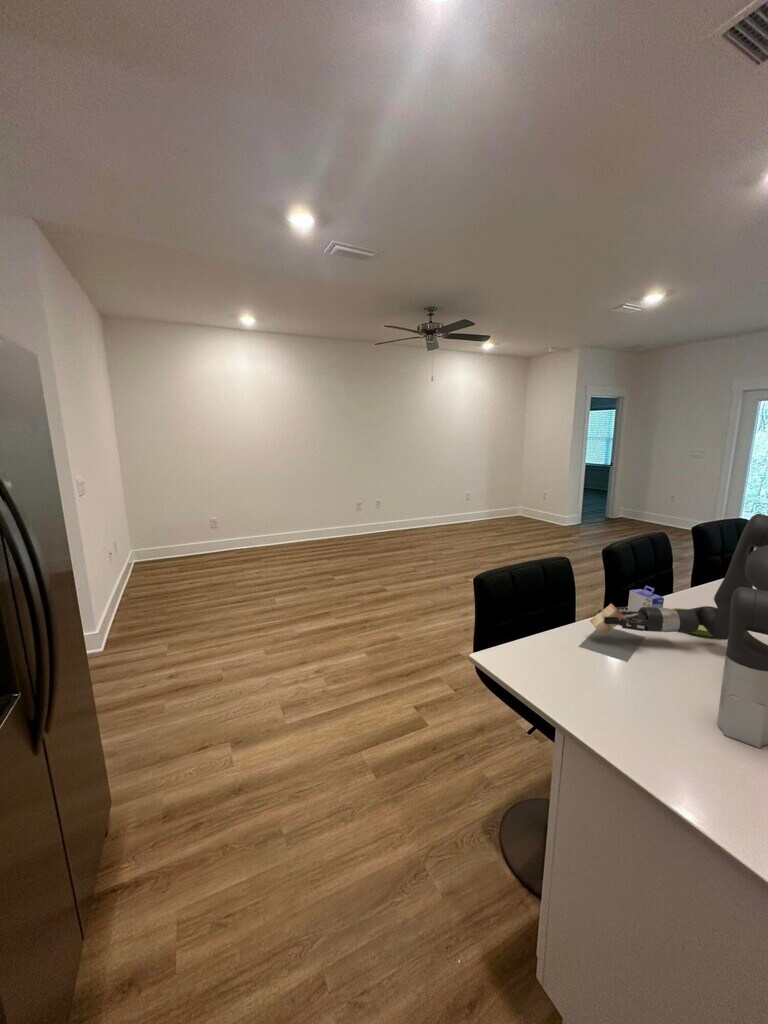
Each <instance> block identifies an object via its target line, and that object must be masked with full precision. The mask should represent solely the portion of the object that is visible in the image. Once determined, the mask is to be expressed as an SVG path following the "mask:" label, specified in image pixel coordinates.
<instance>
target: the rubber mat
mask: <svg viewBox="0 0 768 1024" xmlns="http://www.w3.org/2000/svg"><path fill="white" fill-rule="evenodd" d="M645 639H646V636H644V635H638V634H635V633H631V632H628V631H624V630H621V629H617V628H615V627H614V628H613V629H612V630H610V631H609V632H608V633H606V634H605V635H604V636H603V635H602V634H601V633H600V632H599V631H598V630H597V629H596V628H595V629H594V631H593V632H592V633H590V634H589V636H587V637H586V638H585V639H584V641H582V642H581V643H580V644H579V645H578V647H579V648H582V649H584V650H585V649H586V650H589V651H591V652H595V653H597V654H601V655H603V656H606V657H610V658H613V659H617V660H620V661H623V662H626V663H628V662H629V661H630V659H631V657H632V656H633V655H634V653H636V651H637V650H638V648H639V647H640V645H641V644H642V643H643V642H644V640H645Z"/></svg>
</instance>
